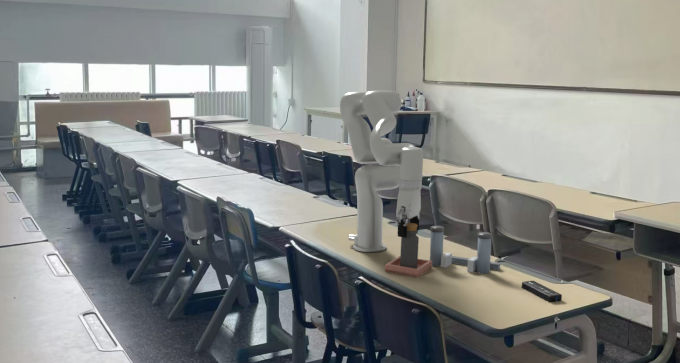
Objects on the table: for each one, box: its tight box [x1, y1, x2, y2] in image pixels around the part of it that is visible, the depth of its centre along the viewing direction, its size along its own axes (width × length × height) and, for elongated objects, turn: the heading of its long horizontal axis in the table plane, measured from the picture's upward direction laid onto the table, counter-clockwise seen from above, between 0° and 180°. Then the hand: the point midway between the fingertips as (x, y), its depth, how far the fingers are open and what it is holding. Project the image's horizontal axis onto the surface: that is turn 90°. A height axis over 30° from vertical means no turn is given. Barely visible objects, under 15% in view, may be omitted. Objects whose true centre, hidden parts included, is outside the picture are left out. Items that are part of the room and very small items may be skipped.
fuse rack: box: [429, 225, 501, 274], centre depth 235 cm, size 25×8×13 cm, turn 60°
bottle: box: [399, 222, 419, 269], centre depth 230 cm, size 6×6×15 cm
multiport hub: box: [521, 280, 563, 303], centre depth 208 cm, size 4×14×2 cm, turn 20°
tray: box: [384, 255, 433, 278], centre depth 232 cm, size 12×12×2 cm
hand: (408, 233), depth 231 cm, fingers open, 9 cm apart
